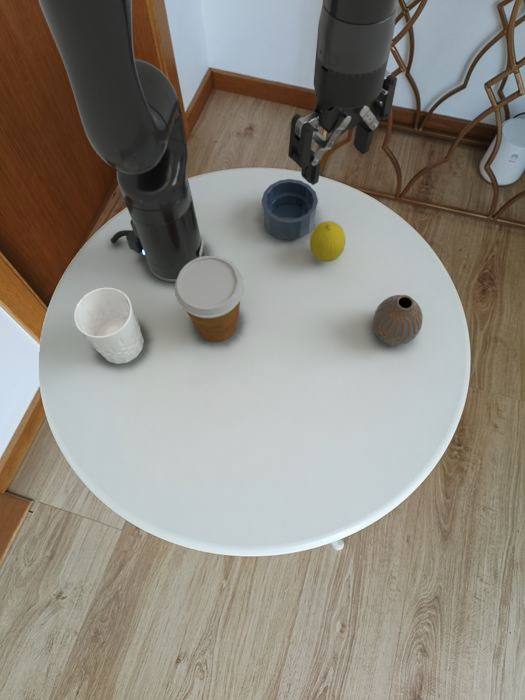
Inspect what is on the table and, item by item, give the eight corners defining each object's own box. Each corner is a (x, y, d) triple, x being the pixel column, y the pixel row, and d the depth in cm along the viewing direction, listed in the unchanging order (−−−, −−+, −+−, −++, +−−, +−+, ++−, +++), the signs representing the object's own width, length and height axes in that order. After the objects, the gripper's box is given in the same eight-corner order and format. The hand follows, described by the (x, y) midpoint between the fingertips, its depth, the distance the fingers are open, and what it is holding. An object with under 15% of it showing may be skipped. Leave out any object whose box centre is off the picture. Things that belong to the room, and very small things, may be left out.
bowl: (252, 226, 91) (251, 206, 86) (282, 192, 94) (282, 171, 89) (296, 250, 88) (297, 231, 84) (325, 214, 92) (328, 194, 87)
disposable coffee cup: (174, 319, 83) (159, 276, 73) (224, 287, 86) (216, 241, 75) (209, 363, 80) (199, 325, 69) (260, 328, 82) (257, 286, 71)
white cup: (158, 342, 82) (143, 310, 73) (119, 377, 79) (98, 348, 70) (124, 312, 84) (106, 277, 75) (85, 345, 82) (61, 313, 73)
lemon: (339, 273, 86) (345, 243, 79) (306, 268, 87) (308, 237, 80) (344, 246, 89) (350, 214, 81) (311, 241, 89) (314, 209, 82)
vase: (423, 325, 82) (439, 295, 74) (403, 360, 79) (417, 332, 71) (382, 304, 83) (393, 273, 76) (362, 338, 81) (371, 309, 73)
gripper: (379, 2, 58) (357, 124, 72) (275, 56, 54) (274, 173, 69) (429, 37, 55) (396, 156, 70) (323, 96, 52) (311, 209, 66)
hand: (335, 164), depth 69 cm, fingers open, 8 cm apart
